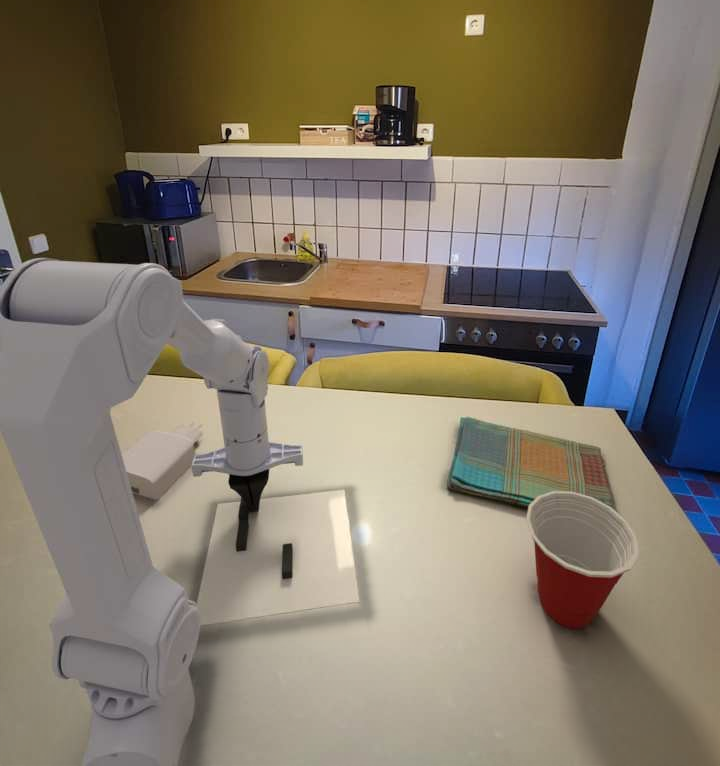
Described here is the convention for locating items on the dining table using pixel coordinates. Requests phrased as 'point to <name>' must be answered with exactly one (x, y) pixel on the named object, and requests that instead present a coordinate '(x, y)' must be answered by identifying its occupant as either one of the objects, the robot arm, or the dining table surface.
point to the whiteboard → (279, 559)
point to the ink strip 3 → (287, 561)
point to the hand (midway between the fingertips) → (254, 506)
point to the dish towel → (523, 465)
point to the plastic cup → (578, 554)
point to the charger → (160, 459)
